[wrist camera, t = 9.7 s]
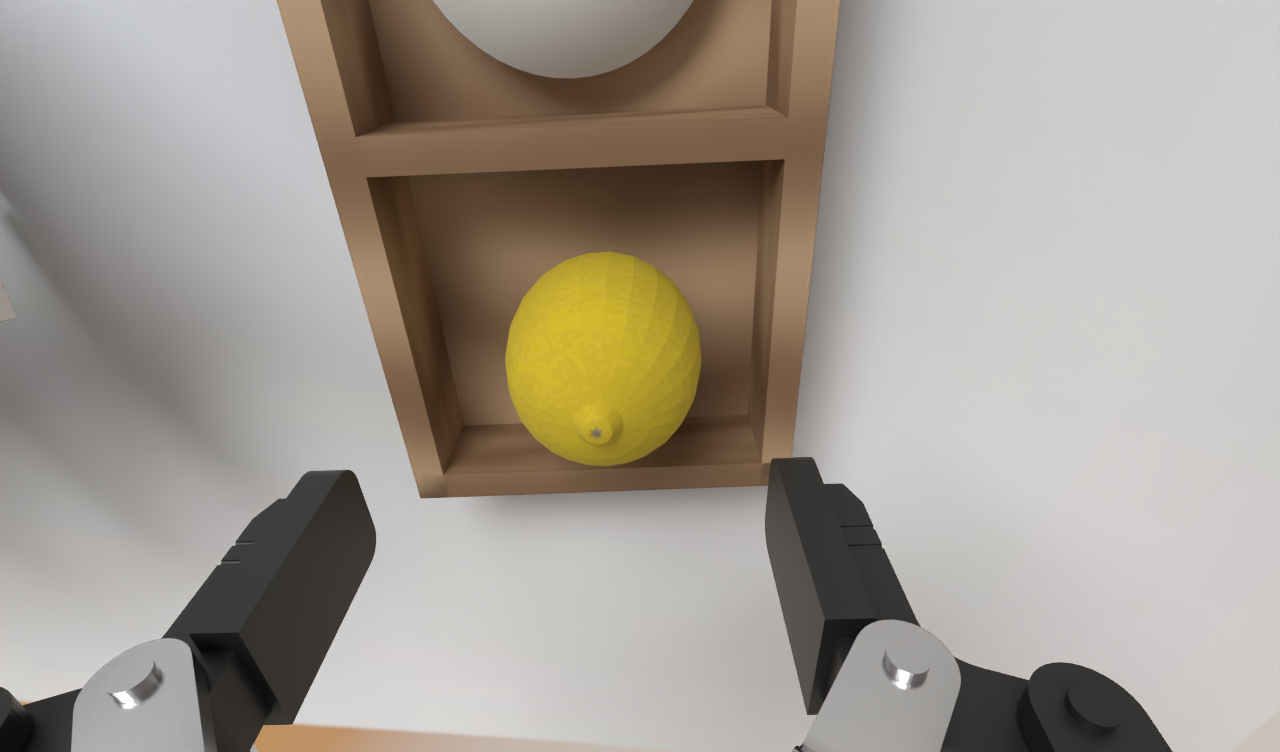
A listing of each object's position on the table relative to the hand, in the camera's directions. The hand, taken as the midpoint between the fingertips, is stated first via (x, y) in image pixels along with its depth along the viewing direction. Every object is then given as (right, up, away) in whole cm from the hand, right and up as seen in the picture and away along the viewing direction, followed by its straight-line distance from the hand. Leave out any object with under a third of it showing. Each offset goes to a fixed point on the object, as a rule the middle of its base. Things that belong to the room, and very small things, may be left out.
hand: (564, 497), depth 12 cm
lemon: (0, +5, +9) cm, 11 cm away
